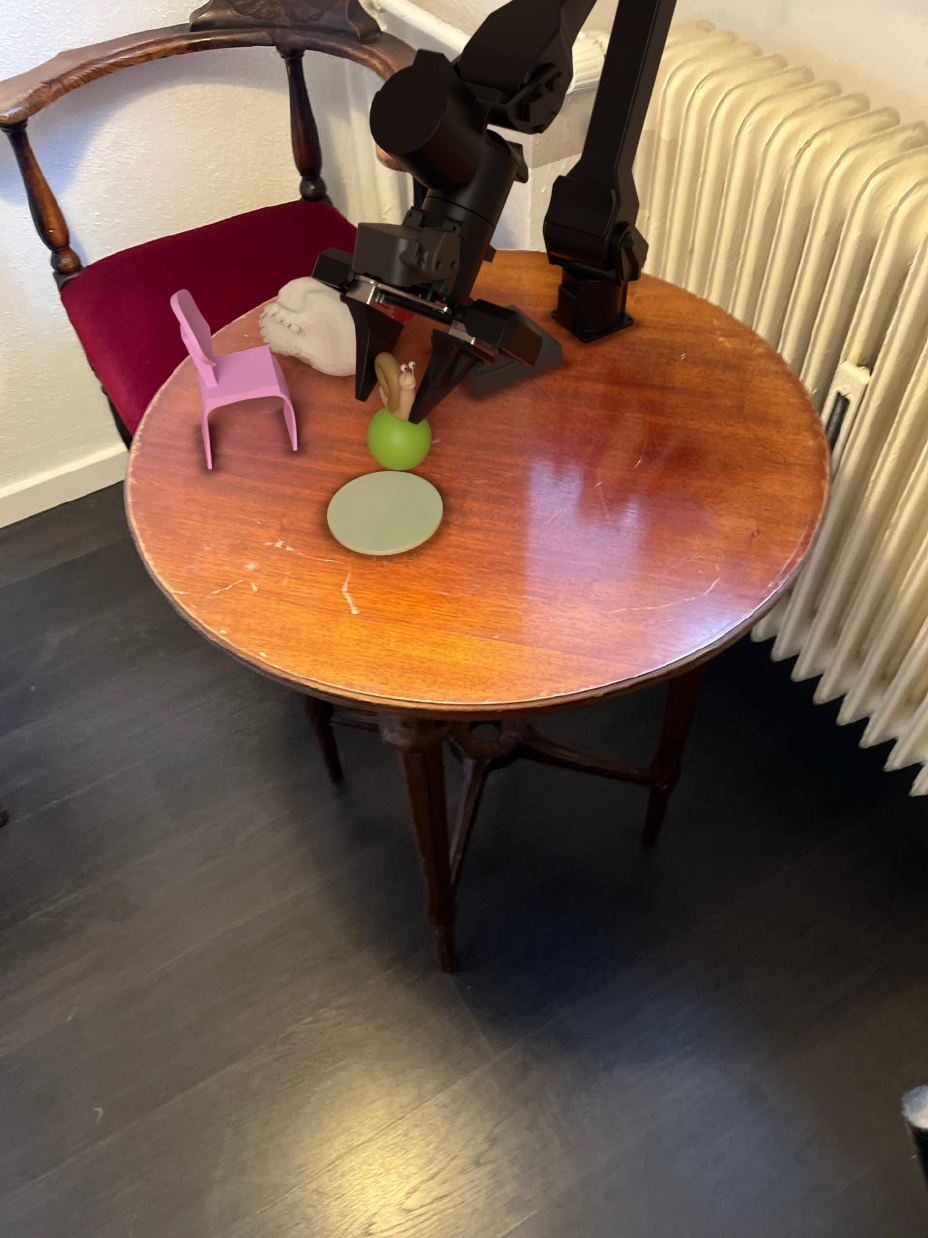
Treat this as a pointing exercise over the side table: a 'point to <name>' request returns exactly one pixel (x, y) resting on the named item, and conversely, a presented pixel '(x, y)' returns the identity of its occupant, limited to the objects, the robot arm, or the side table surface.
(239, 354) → the toy chair
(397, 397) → the snail figurine
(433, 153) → the robot arm
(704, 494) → the side table surface
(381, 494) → the coaster
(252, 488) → the side table surface
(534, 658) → the side table surface
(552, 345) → the button block
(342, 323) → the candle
